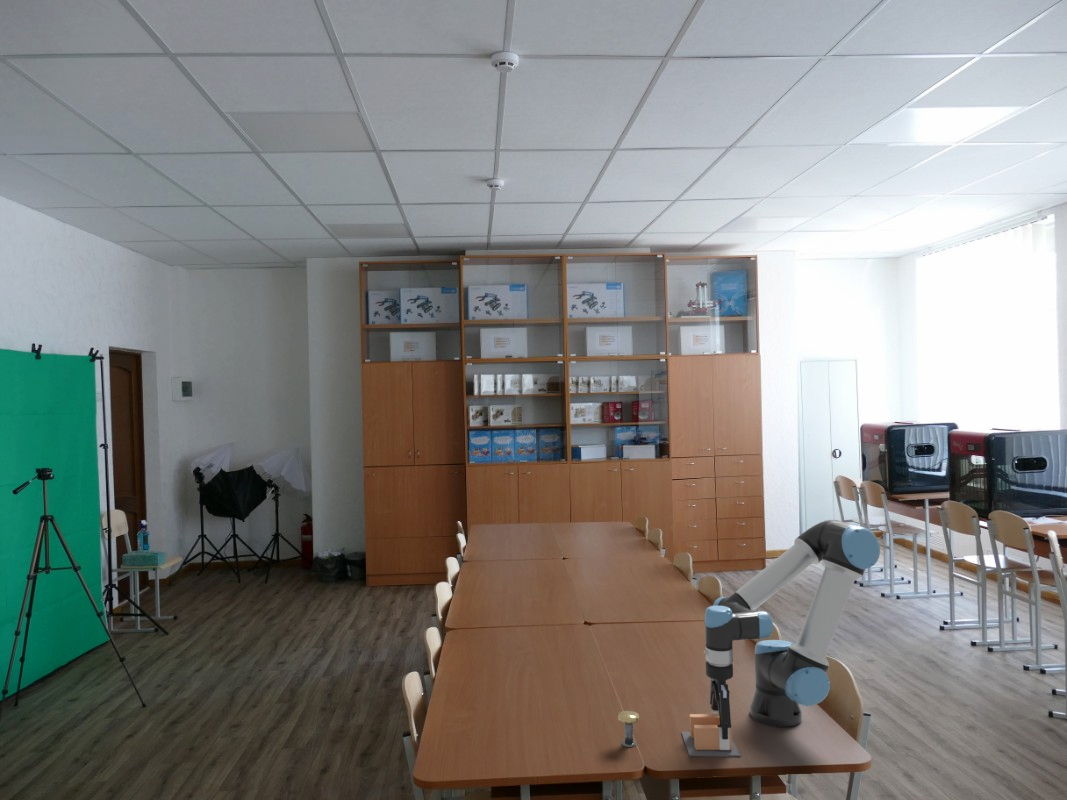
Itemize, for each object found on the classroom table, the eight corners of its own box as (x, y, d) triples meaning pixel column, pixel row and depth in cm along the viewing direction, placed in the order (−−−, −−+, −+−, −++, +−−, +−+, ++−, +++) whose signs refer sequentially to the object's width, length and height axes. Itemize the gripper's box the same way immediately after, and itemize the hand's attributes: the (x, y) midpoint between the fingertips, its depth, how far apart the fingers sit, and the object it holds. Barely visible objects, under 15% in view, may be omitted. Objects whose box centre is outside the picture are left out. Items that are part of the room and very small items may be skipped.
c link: (724, 734, 208) (724, 714, 208) (731, 749, 199) (731, 728, 199) (690, 734, 208) (689, 714, 208) (695, 749, 199) (695, 728, 199)
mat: (729, 733, 210) (729, 731, 210) (740, 756, 196) (740, 755, 196) (681, 733, 211) (681, 731, 211) (689, 756, 197) (689, 754, 197)
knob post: (638, 739, 207) (637, 710, 208) (640, 748, 201) (640, 719, 202) (617, 738, 208) (617, 710, 208) (619, 748, 202) (618, 719, 202)
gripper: (698, 649, 215) (700, 724, 214) (713, 676, 193) (715, 760, 193) (724, 649, 214) (725, 724, 214) (741, 676, 193) (743, 760, 192)
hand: (720, 741), depth 203 cm, fingers closed on c link, 9 cm apart
